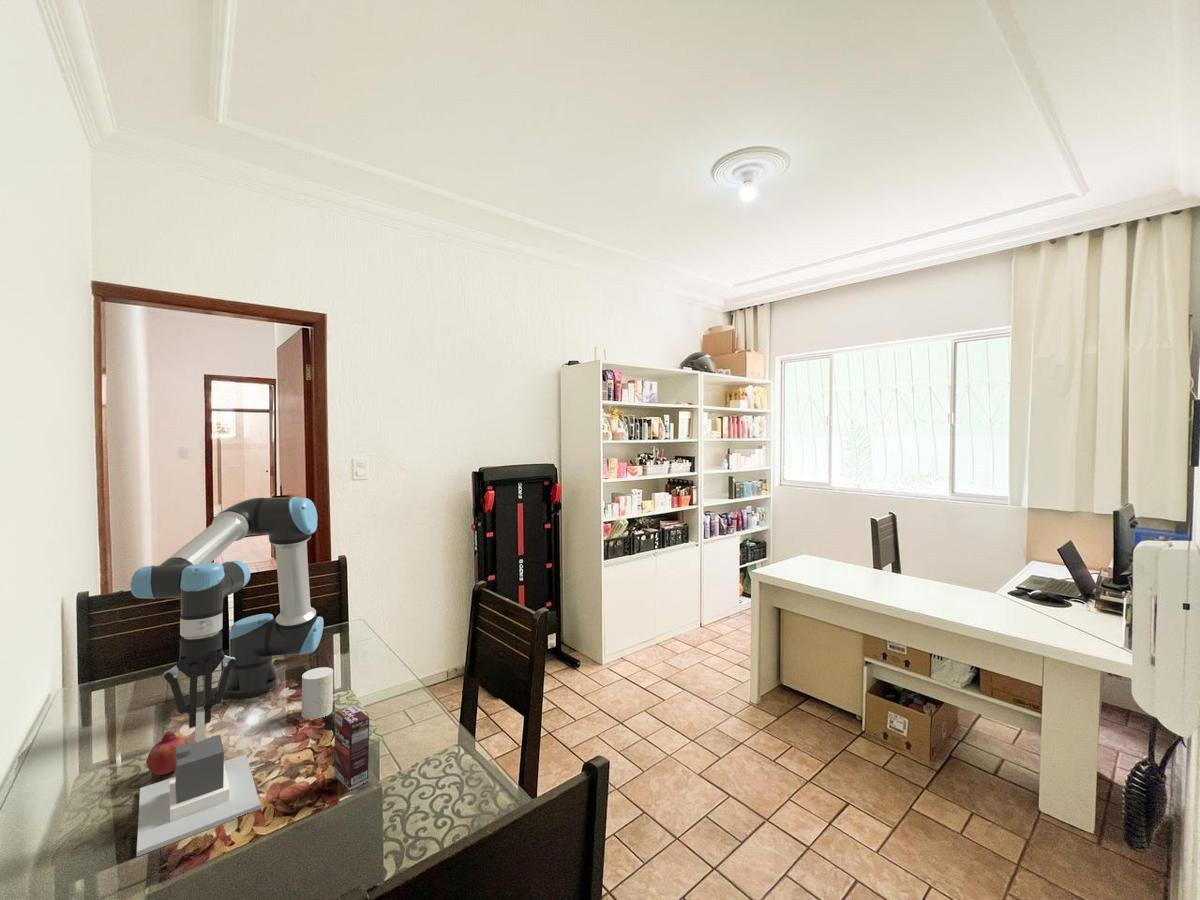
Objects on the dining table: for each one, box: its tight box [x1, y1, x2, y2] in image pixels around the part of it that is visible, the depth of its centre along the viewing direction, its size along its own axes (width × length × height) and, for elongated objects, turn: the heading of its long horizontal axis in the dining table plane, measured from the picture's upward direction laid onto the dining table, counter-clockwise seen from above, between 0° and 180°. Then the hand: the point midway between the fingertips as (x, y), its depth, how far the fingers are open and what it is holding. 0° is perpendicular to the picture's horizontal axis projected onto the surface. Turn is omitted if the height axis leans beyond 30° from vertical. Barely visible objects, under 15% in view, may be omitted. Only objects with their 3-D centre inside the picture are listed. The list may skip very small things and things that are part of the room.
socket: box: [136, 754, 261, 857], centre depth 113 cm, size 24×20×4 cm
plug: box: [175, 734, 225, 804], centre depth 113 cm, size 9×8×10 cm
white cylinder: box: [301, 666, 334, 719], centre depth 151 cm, size 8×8×12 cm
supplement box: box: [333, 704, 370, 791], centre depth 121 cm, size 9×5×16 cm, turn 50°
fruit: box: [146, 730, 189, 776], centre depth 122 cm, size 8×8×10 cm
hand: (199, 738), depth 112 cm, fingers closed
